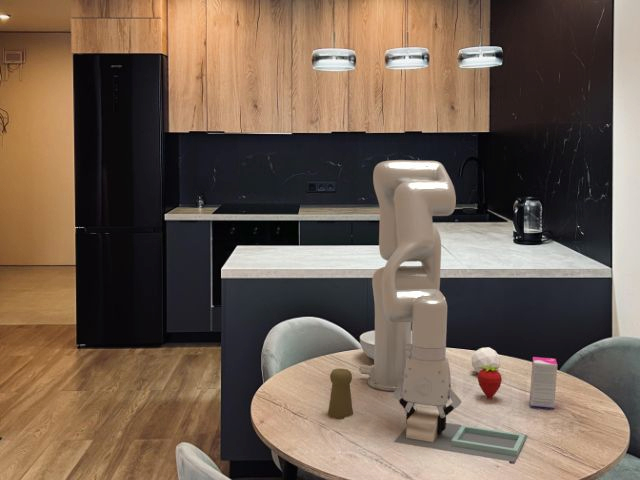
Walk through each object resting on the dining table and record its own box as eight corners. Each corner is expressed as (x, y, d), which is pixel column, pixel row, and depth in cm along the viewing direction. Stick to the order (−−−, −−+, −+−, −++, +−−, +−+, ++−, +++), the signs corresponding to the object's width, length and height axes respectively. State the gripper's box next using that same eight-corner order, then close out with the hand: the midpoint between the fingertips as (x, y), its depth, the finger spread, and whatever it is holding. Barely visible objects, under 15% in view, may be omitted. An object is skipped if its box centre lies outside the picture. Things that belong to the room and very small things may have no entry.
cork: (356, 412, 204) (357, 367, 202) (348, 420, 198) (349, 374, 197) (332, 408, 206) (333, 364, 204) (324, 417, 200) (325, 372, 199)
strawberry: (480, 404, 211) (481, 364, 209) (474, 394, 218) (475, 356, 217) (503, 404, 211) (505, 365, 209) (497, 394, 218) (498, 356, 217)
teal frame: (451, 445, 183) (451, 440, 183) (461, 430, 192) (462, 425, 192) (517, 456, 178) (517, 450, 177) (524, 439, 187) (525, 434, 187)
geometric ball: (491, 383, 236) (510, 362, 234) (478, 379, 230) (497, 358, 228) (474, 364, 240) (493, 344, 239) (460, 360, 235) (479, 339, 233)
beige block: (432, 442, 185) (433, 424, 184) (406, 437, 187) (406, 420, 186) (444, 426, 194) (445, 409, 193) (418, 422, 196) (419, 405, 195)
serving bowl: (434, 353, 255) (435, 330, 254) (427, 373, 235) (427, 349, 234) (366, 348, 260) (366, 326, 259) (353, 367, 240) (353, 343, 239)
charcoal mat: (393, 443, 185) (393, 441, 185) (414, 419, 199) (414, 417, 199) (514, 463, 175) (514, 461, 175) (526, 436, 190) (527, 435, 189)
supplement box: (555, 410, 207) (557, 364, 205) (530, 408, 208) (532, 362, 207) (553, 402, 213) (556, 357, 211) (529, 400, 214) (531, 356, 212)
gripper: (385, 351, 187) (383, 430, 190) (463, 361, 181) (459, 442, 184) (396, 343, 194) (393, 418, 197) (470, 352, 188) (467, 430, 190)
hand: (425, 429), depth 190 cm, fingers closed on beige block, 6 cm apart
